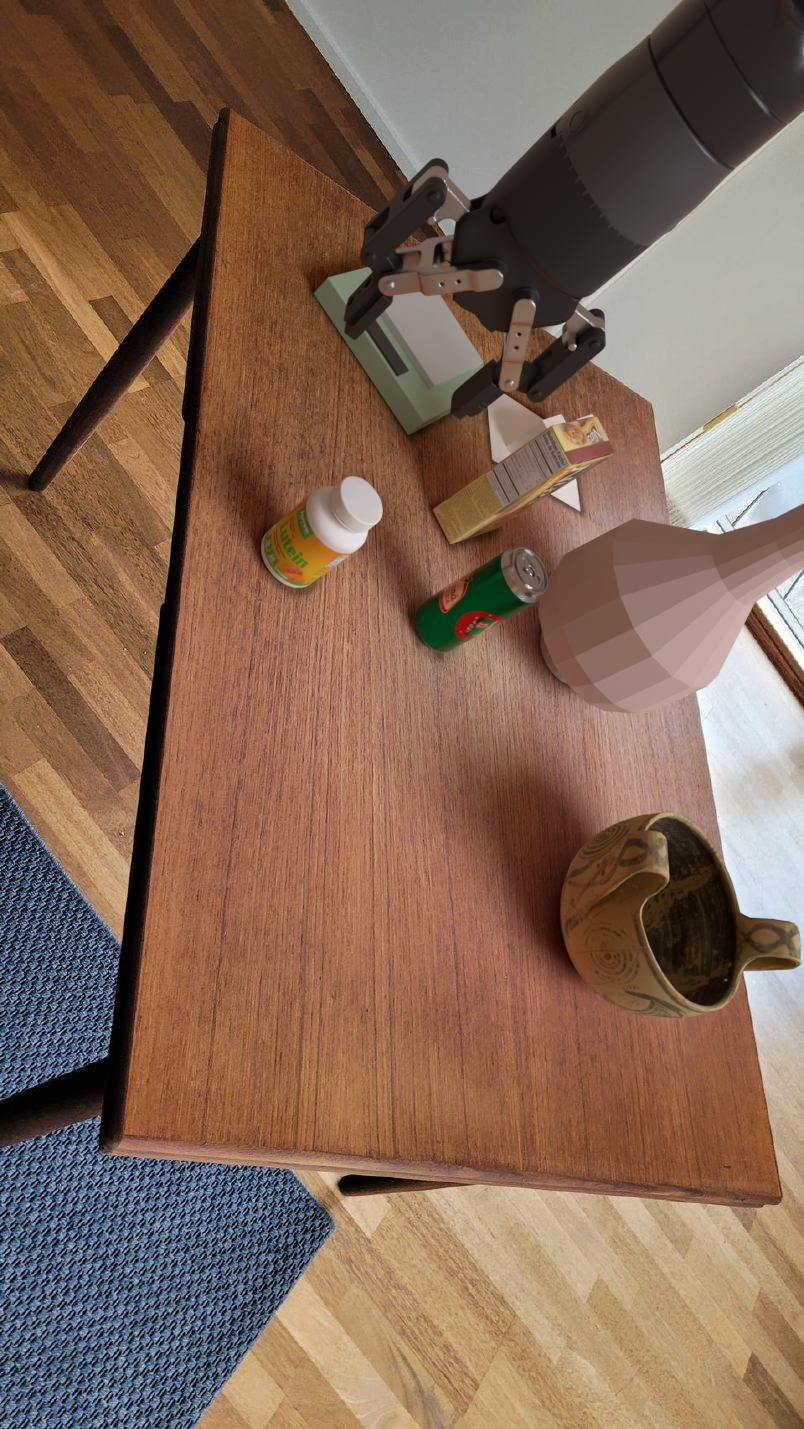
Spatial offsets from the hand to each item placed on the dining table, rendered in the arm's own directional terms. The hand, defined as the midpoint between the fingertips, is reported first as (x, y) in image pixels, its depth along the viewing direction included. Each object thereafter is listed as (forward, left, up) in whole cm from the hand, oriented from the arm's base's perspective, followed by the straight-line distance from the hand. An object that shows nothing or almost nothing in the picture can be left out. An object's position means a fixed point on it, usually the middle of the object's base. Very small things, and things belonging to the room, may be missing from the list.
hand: (404, 369), depth 56 cm
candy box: (+10, +27, -21) cm, 35 cm away
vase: (+27, +28, -21) cm, 44 cm away
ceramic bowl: (+46, +7, -21) cm, 51 cm away
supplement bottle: (+4, +3, -21) cm, 21 cm away
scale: (-8, +35, -21) cm, 41 cm away
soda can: (+16, +13, -21) cm, 29 cm away
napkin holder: (+8, +47, -21) cm, 52 cm away
